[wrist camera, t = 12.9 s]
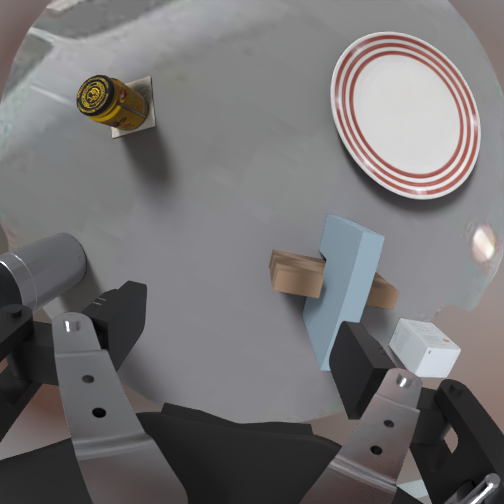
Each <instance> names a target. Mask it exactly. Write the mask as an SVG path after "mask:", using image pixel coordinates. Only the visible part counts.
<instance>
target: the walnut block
mask: <svg viewBox="0 0 504 504" xmlns="http://www.w3.org/2000/svg"><path fill="white" fill-rule="evenodd" d="M325 264H326V260H322V259H317V258H312V257H307V256H301V255H296V254H291V253H286V252H280V251H275V250H273V251H272V256H271V260H270V265H269V268H270V274H271V280H272V286H273V291H279V292H284V293H290V294H296V295H302V296H308V297H314V298H319V295H320V291H321V288H322V284H323V280H324V278H323V276H322V275H323V272H324V268H325ZM398 294H399V291H398V290H397V289H396V288H394V287H393V286H392V285H391V284H390V283H388V282H387V281H386V280H385V279H384V278H382V277H381V276H380V275H379V274H377V273H376V272H375V275H374V278H373V281H372V285H371V288H370V291H369V294H368V297H367V301H366V304H365V306H372V307H379V308H386V309H394V306H395V303H396V300H397V297H398Z"/></svg>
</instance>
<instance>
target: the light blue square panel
mask: <svg viewBox="0 0 504 504" xmlns="http://www.w3.org/2000/svg"><path fill="white" fill-rule="evenodd" d="M384 238H385V237H384V236H382V235H380V234H378V233H375V232H373V231H371V230H369V229H367V228H365V227H363V226H360V225H358V224H356V223H354V222H352V221H349V220H347V219H345V218H342V217H338V216H334V215H329V214H327V219H326V223H325V227H324V232H323V236H322V240H321V244H320V248H319V251H320V252H321V253H322V255H323V256H324V257H325V258H326V259H327V260H326V264H325V268H324V272H323V275H322V276H323V278H324V280H323V284H322V288H321V291H320V295H319V298H314V297H308V296H307V299H306V302H305V306H304V310H303V313H302V316H303V319H304V322H305V325H306V328H307V331H308V334H309V337H310V340H311V343H312V346H313V349H314V352H315V355H316V358H317V361H318V364H319V368H320V370H325V371H331V370H330V367H329V356H330V352H331V350H332V347H333V344H334V341H335V338H336V335H337V332H338V329H339V327H340V324H341V323H342V322H343V321H350V322H358V323H359V321H360V318H361V316H362V313H363V310H364V307H365V304H366V301H367V297H368V294H369V291H370V288H371V285H372V281H373V278H374V275H375V271H376V268H377V264H378V261H379V257H380V254H381V250H382V246H383V242H384Z"/></svg>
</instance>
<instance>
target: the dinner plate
mask: <svg viewBox="0 0 504 504" xmlns="http://www.w3.org/2000/svg"><path fill="white" fill-rule="evenodd" d="M331 108H332V113H333V118H334V121H335V124H336V127H337V130H338V132H339V135H340V137H341V139H342V141H343V143H344V145H345V147H346V148H347V150H348V151H349V153H350V155H351V156H352V157H353V159H354V160H355V161H356V163H357V164H358V165H359V166H360V167H361V168H362V169H363V171H364V172H365V173H366V174H367V175H369V176H370V177H371V178H372V179H373V180H374V181H376V182H377V183H378V184H380V185H381V186H383V187H384V188H386V189H388V190H389V191H391V192H394V193H396V194H398V195H401V196H404V197H407V198H412V199H422V200H424V199H434V198H438V197H442V196H444V195H446V194H449V193H450V192H452V191H454V190H455V189H457V188H458V187H459V186H460V185H461V184H462V183H463V182H464V181H465V180H466V179H467V177H468V176H469V174H470V173H471V171H472V169H473V167H474V165H475V163H476V160H477V157H478V153H479V147H480V137H481V129H480V119H479V114H478V110H477V106H476V103H475V100H474V97H473V95H472V92H471V90H470V88H469V86H468V84H467V83H466V81H465V79H464V78H463V76H462V75H461V73H460V72H459V70H458V69H457V68H456V67H455V65H454V64H453V63H452V62H451V61H450V60H449V59H448V58H447V57H446V56H445V55H443V54H442V53H441V52H440V51H439V50H437V49H436V48H434V47H433V46H432V45H430V44H428V43H427V42H425V41H423V40H421V39H418V38H416V37H413V36H410V35H407V34H403V33H396V32H378V33H373V34H370V35H367V36H364V37H362V38H360V39H358V40H357V41H355V42H354V43H352V44H351V45H350V46H349V47H348V48H347V49H346V50H345V51H344V53H343V54H342V55H341V57H340V59H339V60H338V62H337V64H336V66H335V69H334V72H333V76H332V81H331Z"/></svg>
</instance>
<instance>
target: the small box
mask: <svg viewBox="0 0 504 504" xmlns="http://www.w3.org/2000/svg"><path fill="white" fill-rule="evenodd" d="M389 346H390V347H391V349H392V350H393V351H394V353H395V354H396V355H397V357H398V358H399V359H400V360H401V362H402V363H403V364H404V366H405V367H406V368H407V370H408V371H410V372H412V373H414V374H415V375H417V376H418V377H433V378H434V377H435V378H438V377H439V378H446V377H447V376H448V374H449V372H450V370H451V369H452V367H453V365H454V363H455V361H456V359H457V357H458V355H459V353H460V351H461V349H460V348H459V347H458V346H457V345H456V344H454V343H453V342H452V341H451V340H450V339H449V338H448V337H447V336H446V335H444V334H443V333H442V332H441V331H440V330H439V329H438V328H437V327H436V326H434V325H433V324H432V323H427V322H421V321H414V320H408V319H402V318H400V319H399V322H398V324H397V327H396V329H395V332H394V334H393V336H392V339H391V341H390V343H389Z"/></svg>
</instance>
